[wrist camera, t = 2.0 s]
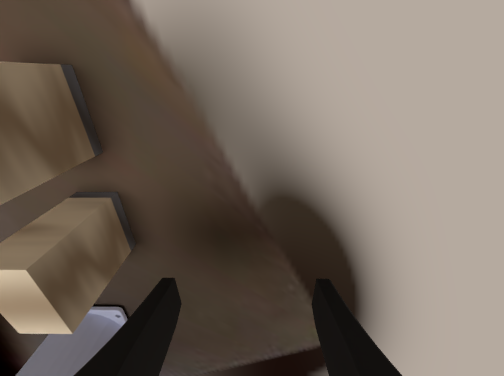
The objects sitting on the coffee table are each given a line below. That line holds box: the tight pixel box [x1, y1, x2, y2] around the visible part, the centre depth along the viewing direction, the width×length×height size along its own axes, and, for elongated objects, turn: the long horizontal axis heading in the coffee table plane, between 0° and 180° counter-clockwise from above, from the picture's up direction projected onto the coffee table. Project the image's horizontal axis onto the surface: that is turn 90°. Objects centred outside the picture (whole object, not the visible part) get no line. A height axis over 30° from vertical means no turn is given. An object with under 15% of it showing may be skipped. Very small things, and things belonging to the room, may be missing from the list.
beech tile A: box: [0, 192, 136, 334], centre depth 14 cm, size 5×3×7 cm, turn 1°
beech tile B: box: [0, 62, 103, 205], centre depth 10 cm, size 5×3×7 cm, turn 1°
